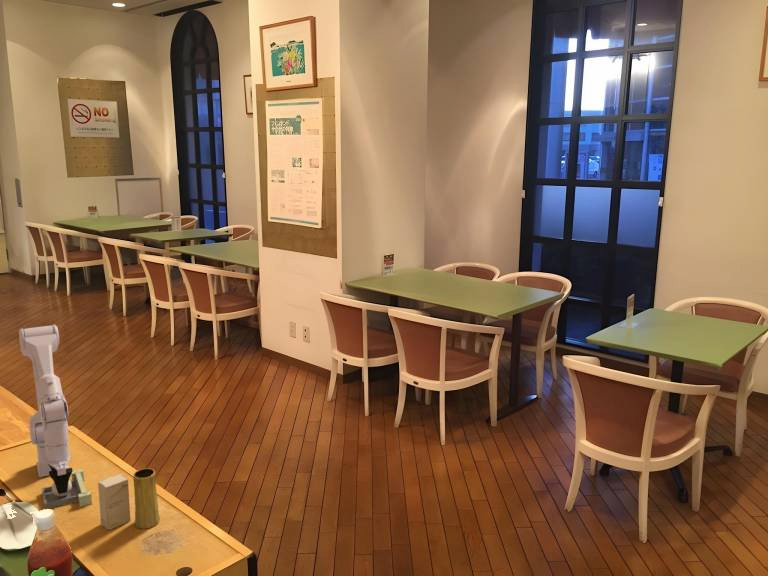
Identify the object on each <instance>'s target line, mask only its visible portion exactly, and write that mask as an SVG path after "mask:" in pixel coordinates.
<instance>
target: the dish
mask: <svg viewBox="0 0 768 576" xmlns="http://www.w3.org/2000/svg"><path fill="white" fill-rule="evenodd" d="M70 481H71V484H72V489H71V491H70V492H69V493H68V494H67V495H65V496H62V497H58V496H56V495H54V494H53V492H52V485H50V486H47V487H42V488H41V493H42V499H43V503H44V508H49V509H53V508H56V507H60V506H64V505H67V504H73V503H76V502H77V503H78V502H79V497H78V494H81V492H80V489H79V486H78V483H77V480H75V481H72V480H70Z"/></svg>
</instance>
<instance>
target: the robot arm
mask: <svg viewBox="0 0 768 576" xmlns="http://www.w3.org/2000/svg"><path fill="white" fill-rule="evenodd" d="M18 338H19V345H20V352H21V354H22V356H25V357H29V359H30V361H31V362H32V363H31V364H32V370H33V377H34V384H35V394H36V400H37V408H38V410H37V411H36V412H35V413H34V414H33V415H32V416H31V417H30V418H29V420H28V423H29V427H28V428H29V436H30V442H31V444H33V445H35V446H36V450H37V451H36V452H37V462H36V470H37V473H38V477H39V478H42V477H47V476H49V477H50V478H51V480H52V481H53V483H55V485H56V489H57V492H58V494H62V493H66V492H67V489H68V482H69V480H70V478H71V477H72V471H74V470H73V467H69V465H68V464H69V462H70V460H71V458H72V457H71V456H72V455H71V453H70V442H69V433H70V432H69V431H70V430H69V425H68V419H69V407H68V401H67V400H66V396H65V394H63V389H62V384H61V378H60V377H59V376H57V375H56V374H55V373H54V359H53V353H55V352H57V351H58V348H59V345H60V333H59V329H58V325H56V324H52V325H46V326H45V325H44V326H37V327H29V328H20V329H19V330H18Z"/></svg>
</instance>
